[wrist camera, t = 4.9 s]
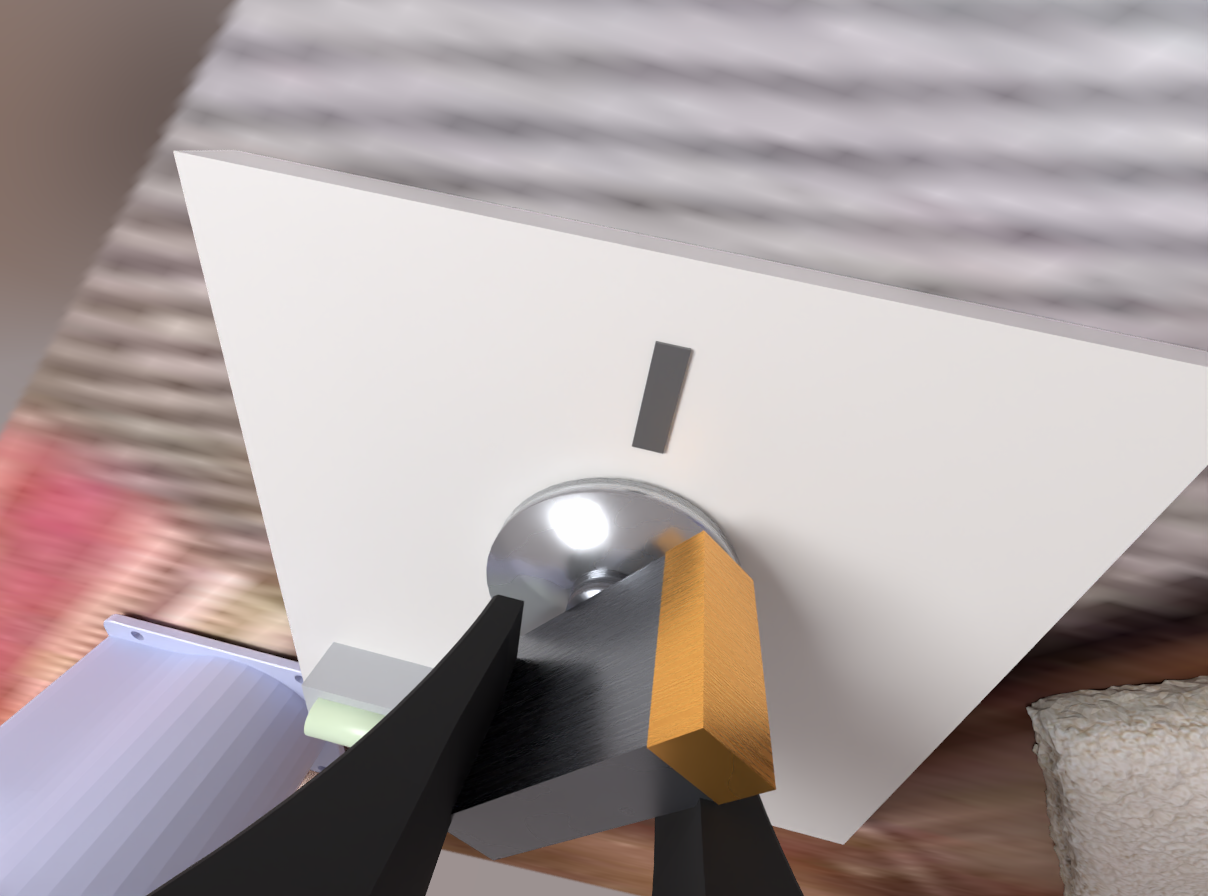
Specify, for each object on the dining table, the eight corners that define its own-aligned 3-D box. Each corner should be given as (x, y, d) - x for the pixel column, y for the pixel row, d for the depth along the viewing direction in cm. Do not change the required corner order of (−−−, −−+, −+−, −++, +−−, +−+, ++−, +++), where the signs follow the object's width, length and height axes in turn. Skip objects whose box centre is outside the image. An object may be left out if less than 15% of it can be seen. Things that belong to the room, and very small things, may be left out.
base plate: (332, 665, 20) (261, 765, 17) (234, 149, 11) (31, 153, 8) (834, 798, 19) (860, 933, 16) (1210, 352, 10) (1467, 459, 7)
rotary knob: (609, 690, 16) (569, 916, 11) (447, 558, 14) (321, 762, 9) (808, 602, 12) (867, 866, 8) (632, 418, 11) (579, 622, 6)
